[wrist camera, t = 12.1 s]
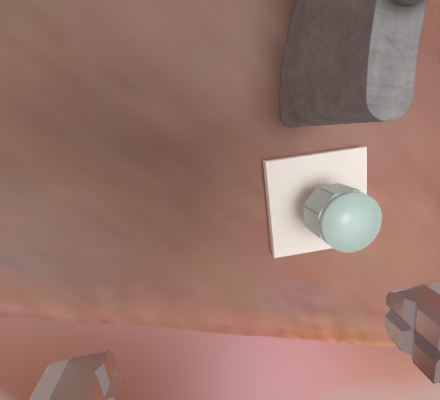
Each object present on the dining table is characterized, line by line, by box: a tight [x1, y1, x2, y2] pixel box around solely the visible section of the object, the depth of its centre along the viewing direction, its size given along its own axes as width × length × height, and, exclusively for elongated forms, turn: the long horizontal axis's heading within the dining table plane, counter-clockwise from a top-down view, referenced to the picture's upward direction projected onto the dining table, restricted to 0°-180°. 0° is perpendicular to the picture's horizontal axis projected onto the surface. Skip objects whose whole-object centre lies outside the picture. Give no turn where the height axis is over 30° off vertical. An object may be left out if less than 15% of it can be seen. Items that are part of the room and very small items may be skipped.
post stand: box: [263, 146, 367, 258], centre depth 33 cm, size 13×13×8 cm
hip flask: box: [280, 0, 427, 127], centre depth 23 cm, size 16×4×20 cm, turn 173°
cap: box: [303, 183, 382, 252], centre depth 31 cm, size 6×6×5 cm
